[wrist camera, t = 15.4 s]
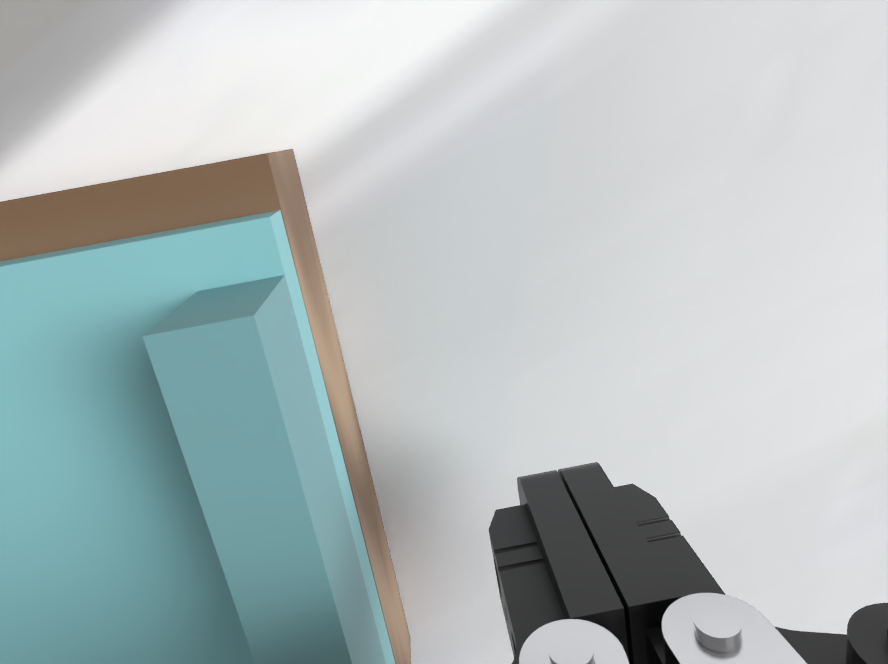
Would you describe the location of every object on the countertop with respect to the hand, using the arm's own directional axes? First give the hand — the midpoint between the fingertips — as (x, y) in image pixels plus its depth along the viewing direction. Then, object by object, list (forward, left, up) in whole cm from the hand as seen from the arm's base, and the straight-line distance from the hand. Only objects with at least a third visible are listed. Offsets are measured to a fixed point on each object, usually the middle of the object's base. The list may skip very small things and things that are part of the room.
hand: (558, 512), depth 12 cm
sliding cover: (0, +9, -2) cm, 9 cm away
